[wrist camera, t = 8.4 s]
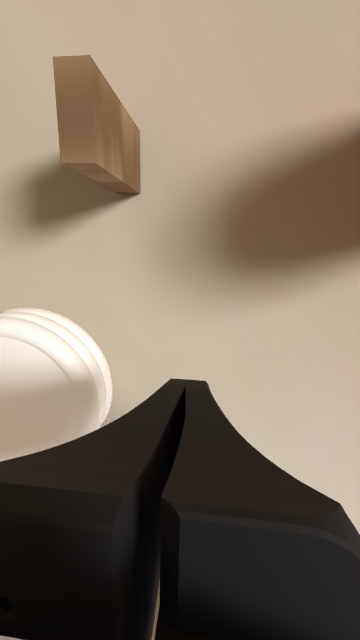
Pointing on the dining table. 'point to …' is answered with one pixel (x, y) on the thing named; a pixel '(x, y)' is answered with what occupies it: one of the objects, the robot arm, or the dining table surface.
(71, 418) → the white short cylinder
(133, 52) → the dining table surface
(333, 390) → the dining table surface
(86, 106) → the wall frame
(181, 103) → the dining table surface
